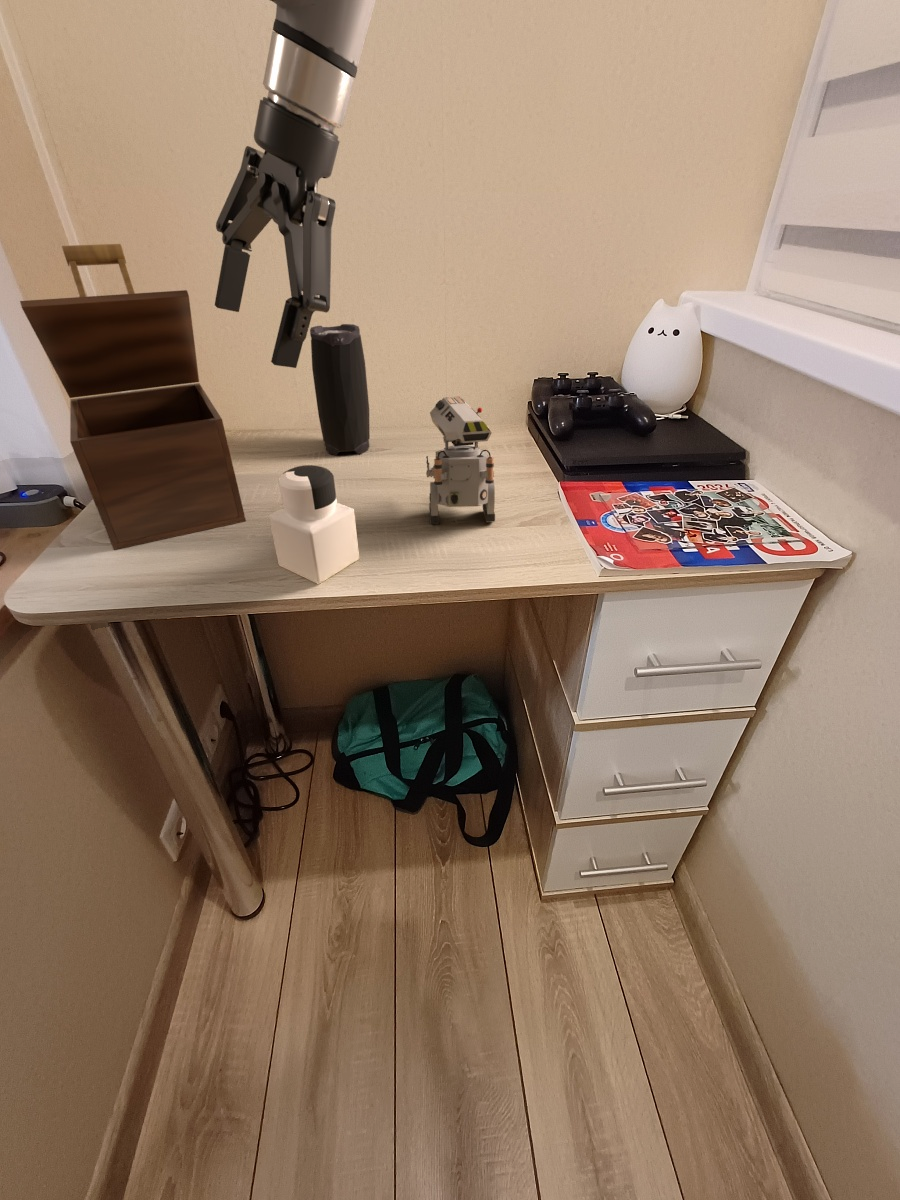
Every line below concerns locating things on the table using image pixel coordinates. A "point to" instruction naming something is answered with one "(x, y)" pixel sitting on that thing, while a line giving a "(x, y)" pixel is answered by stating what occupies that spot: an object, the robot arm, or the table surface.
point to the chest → (155, 463)
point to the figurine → (461, 460)
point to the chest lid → (114, 332)
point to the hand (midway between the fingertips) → (253, 336)
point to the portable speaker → (341, 387)
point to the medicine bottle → (313, 525)
